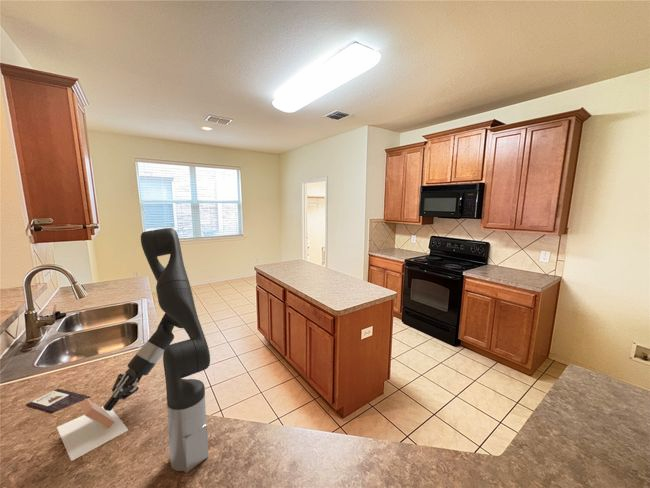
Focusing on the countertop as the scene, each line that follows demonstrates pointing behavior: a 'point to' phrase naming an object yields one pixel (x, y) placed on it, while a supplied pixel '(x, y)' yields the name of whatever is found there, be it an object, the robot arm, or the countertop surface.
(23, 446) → the countertop surface
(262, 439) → the countertop surface
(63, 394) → the chocolate bar
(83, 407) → the block
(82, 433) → the mat
